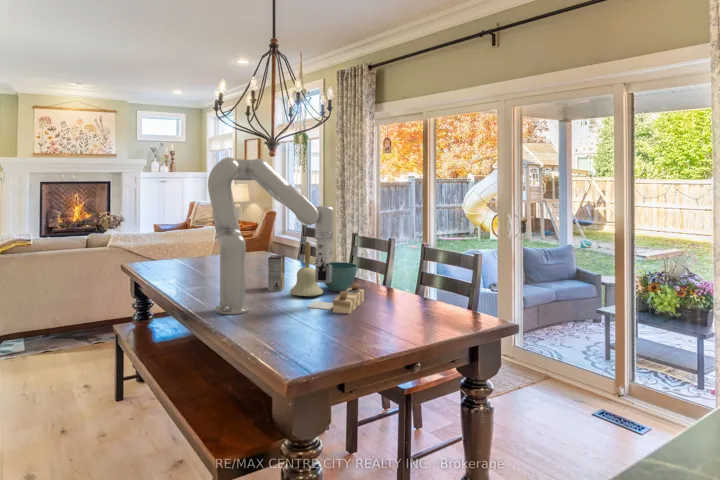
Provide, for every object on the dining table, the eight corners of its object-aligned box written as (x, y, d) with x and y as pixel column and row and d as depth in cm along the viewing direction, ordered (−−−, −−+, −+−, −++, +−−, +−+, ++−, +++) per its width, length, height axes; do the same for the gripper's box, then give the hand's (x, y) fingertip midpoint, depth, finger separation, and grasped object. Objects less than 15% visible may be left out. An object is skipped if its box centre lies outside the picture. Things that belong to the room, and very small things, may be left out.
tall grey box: (329, 283, 201) (329, 266, 201) (315, 282, 203) (315, 265, 202) (331, 281, 205) (332, 264, 204) (318, 280, 207) (318, 264, 206)
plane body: (349, 313, 194) (350, 294, 193) (332, 312, 196) (333, 292, 195) (363, 300, 217) (364, 282, 216) (348, 299, 219) (349, 281, 218)
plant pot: (352, 295, 227) (352, 269, 226) (314, 292, 231) (315, 266, 229) (359, 287, 245) (360, 263, 243) (324, 284, 248) (325, 261, 247)
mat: (330, 309, 199) (330, 309, 199) (307, 307, 201) (307, 306, 201) (337, 304, 209) (337, 303, 209) (315, 302, 211) (315, 301, 211)
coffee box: (271, 287, 239) (272, 254, 237) (284, 287, 239) (285, 255, 237) (267, 291, 230) (268, 257, 228) (281, 291, 230) (281, 258, 228)
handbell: (324, 292, 231) (325, 240, 229) (322, 299, 216) (323, 244, 214) (291, 291, 231) (292, 239, 228) (287, 298, 216) (288, 243, 213)
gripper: (326, 238, 193) (326, 283, 195) (338, 234, 209) (337, 276, 211) (308, 237, 195) (308, 282, 197) (322, 233, 211) (321, 275, 213)
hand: (323, 278), depth 204 cm, fingers closed on tall grey box, 4 cm apart
